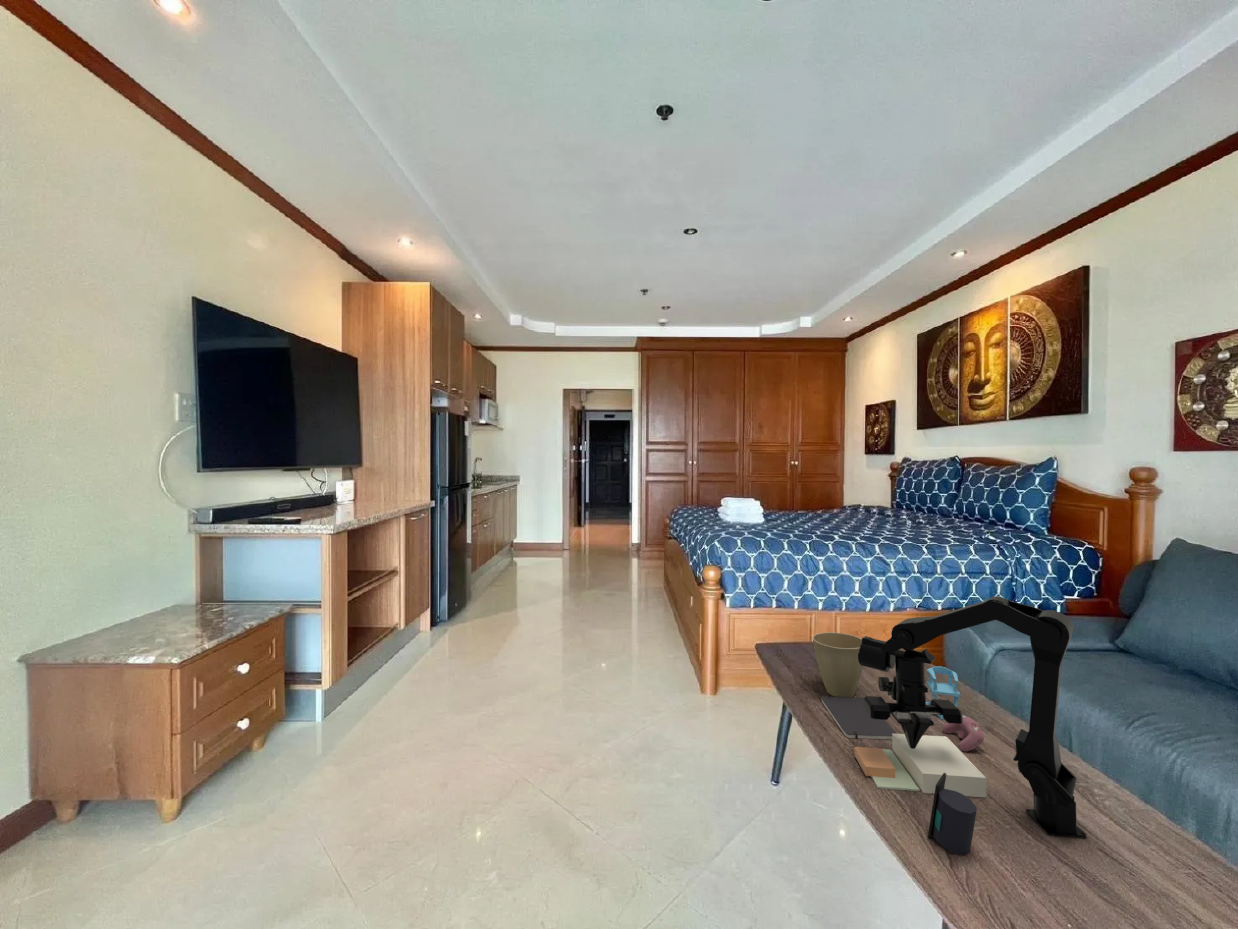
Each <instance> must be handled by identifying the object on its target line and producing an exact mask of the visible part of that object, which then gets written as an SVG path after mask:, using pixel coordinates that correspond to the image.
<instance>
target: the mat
mask: <svg viewBox="0 0 1238 929" xmlns="http://www.w3.org/2000/svg"><path fill="white" fill-rule="evenodd" d="M882 750H883V751H884V753H885V754H886V756H887V757H888V759H889V760H890V762H891V763H892V765H893V766H894V768H895V778H887V777H874V776H870V778H871V779H872V782H873V783H874V784H875V786H876V787H877V789H884V790H897V791H912V792H921V789H920V788H919V786H918V785H917V784H916V782H915V781H914V779H913V778H912V777H911V775H910V774H909V772H908V771H907V770H906V768H905V767H904V765H903V764H902V763H901V761H900V760H899V759H898V757H897V756H896V754H895V753H894V752H893V749H886V748H882Z"/></svg>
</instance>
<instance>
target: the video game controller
mask: <svg viewBox="0 0 1238 929" xmlns="http://www.w3.org/2000/svg"><path fill="white" fill-rule="evenodd" d="M962 720H963V723H962V724H956V723H948V722H947V721H946V722H945V724H943V726H942V732H943V733H944V734H953V733H956V732H957V737H958V738H960V739H961V741H960V742H959V744H958V749H959V750H960V751H961V752H970V751H972V750H975V749H976V747H978V746H979V745H981V744H983V742H984V741H985V733H984V731H982V729H981V727H980V725H979V724H978V723H977V721H975V720H974V719H973V718H971V717H968V716H967V715H962Z"/></svg>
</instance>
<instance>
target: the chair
mask: <svg viewBox="0 0 1238 929" xmlns="http://www.w3.org/2000/svg"><path fill="white" fill-rule="evenodd" d="M926 671H927V674H928V677H929V680H926V685H927V688H928V690H929V691H930V692H931V696H932V699H938V698H937V695H942V696H943V695H945V696H952V697H953V701H952V702H953V703H952V704H954V705H955V706H956V707H957V708H958V704H959V700H960V698H961V693H960V691H959V690H958V685H959V678H958V677H959V676H958V674H957V672H955V671H953V670H951V669H949V668H948V667H944V666H940V665H938V666H933V667H930V668H927V669H926ZM936 674H943V675H947V676H948V682H937V677H936ZM952 680H954V683H953V681H952ZM926 705H931V701H926ZM936 716H937V717H938V718H939V719H941V720H945V719H944V718H943V715H936Z"/></svg>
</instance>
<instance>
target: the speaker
mask: <svg viewBox="0 0 1238 929" xmlns="http://www.w3.org/2000/svg"><path fill="white" fill-rule="evenodd" d="M945 780H946V773H943V775H942V776H941V778H940V779H939V781H938V782H937V784H936V787H935V794H934V795H933V800H932V808H931V814H930V820H929V826H928V834H927V838H928V839H931V838H932V837H934V839H935V842H937V843H938V844H939V845H940V846H942V847H943V848H944V849H945V850H946V851H948V852H949V853H952V854H957V855H961V856H966V855H968V854H970V853H971V847H972V841H973V836H974V829H975V823H976V818H977V817H976V816H977V812H978V808H977V806H976V805H975V803H974V802H973V800H971V799H970V798H968V796H964V795H963V794H961V793H959V792H956V791H952V790H948V789H944V786H945Z"/></svg>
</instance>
